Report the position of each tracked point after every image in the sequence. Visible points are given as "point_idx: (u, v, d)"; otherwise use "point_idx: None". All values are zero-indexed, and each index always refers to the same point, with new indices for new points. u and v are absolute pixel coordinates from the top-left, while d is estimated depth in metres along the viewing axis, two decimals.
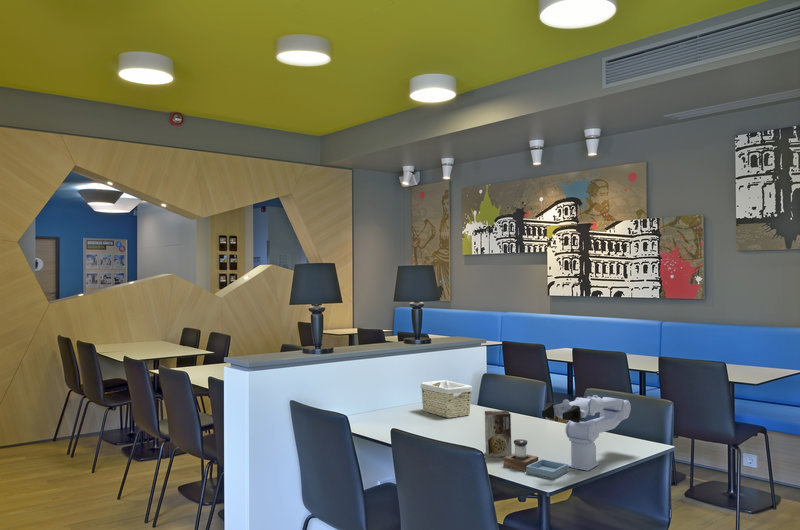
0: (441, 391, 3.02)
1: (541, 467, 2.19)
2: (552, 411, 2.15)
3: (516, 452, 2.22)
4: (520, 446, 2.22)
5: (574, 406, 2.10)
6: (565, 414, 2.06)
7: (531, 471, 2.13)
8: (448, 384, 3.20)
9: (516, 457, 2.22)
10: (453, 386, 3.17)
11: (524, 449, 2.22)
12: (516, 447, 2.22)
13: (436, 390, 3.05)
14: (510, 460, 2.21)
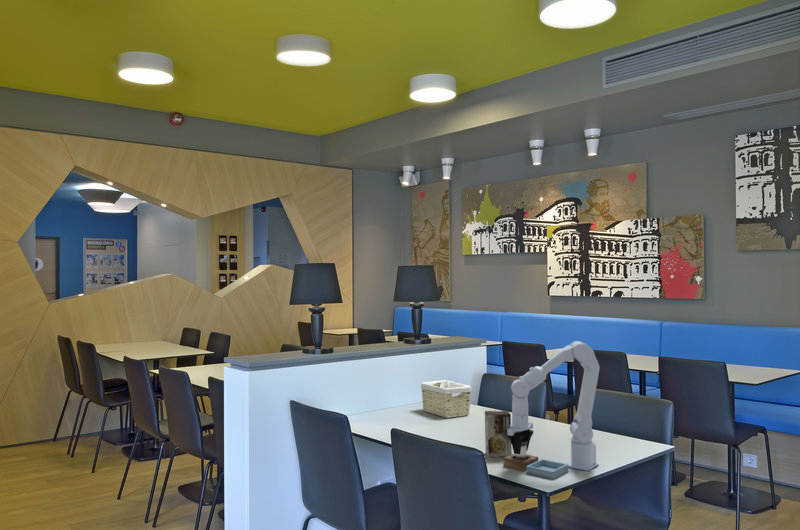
0: (440, 391, 3.02)
1: (541, 467, 2.19)
2: (524, 433, 2.25)
3: None
4: None
5: None
6: (514, 451, 2.22)
7: (531, 471, 2.13)
8: (448, 384, 3.20)
9: (516, 457, 2.22)
10: (453, 386, 3.17)
11: (524, 449, 2.22)
12: None
13: (435, 390, 3.05)
14: (510, 460, 2.21)
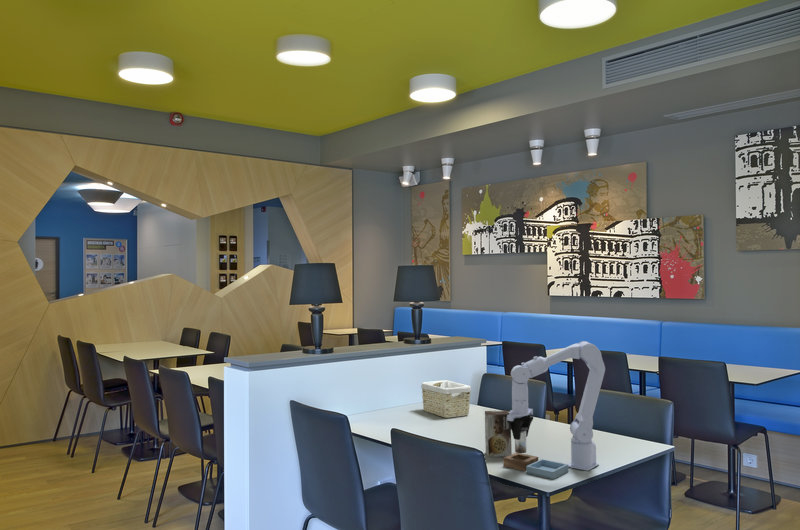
0: (439, 391, 3.02)
1: (541, 467, 2.19)
2: (523, 419, 2.26)
3: None
4: None
5: None
6: (514, 437, 2.22)
7: (531, 471, 2.13)
8: (449, 384, 3.20)
9: (516, 443, 2.23)
10: (453, 386, 3.17)
11: (524, 434, 2.22)
12: None
13: (435, 390, 3.06)
14: (510, 460, 2.21)
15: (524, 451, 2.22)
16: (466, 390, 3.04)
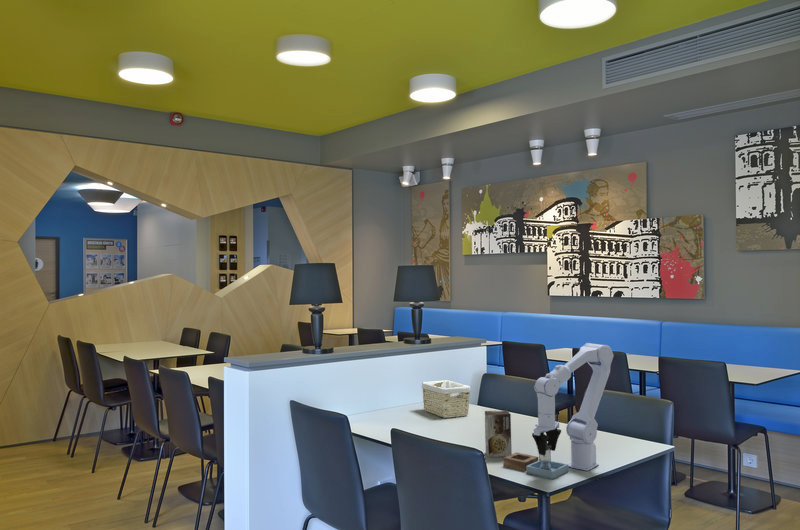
0: (438, 391, 3.02)
1: None
2: (551, 433, 2.18)
3: (540, 456, 2.15)
4: None
5: None
6: (539, 452, 2.13)
7: (531, 471, 2.13)
8: (450, 384, 3.20)
9: (540, 461, 2.15)
10: (454, 386, 3.17)
11: (548, 452, 2.14)
12: None
13: (434, 390, 3.06)
14: (510, 460, 2.21)
15: (549, 470, 2.14)
16: (465, 390, 3.03)
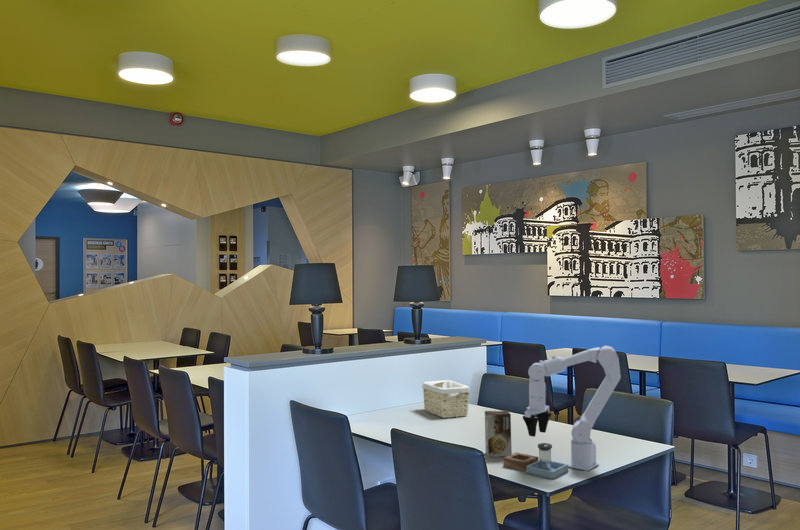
0: (437, 391, 3.02)
1: None
2: (542, 415, 2.30)
3: (540, 456, 2.15)
4: (545, 450, 2.14)
5: None
6: (529, 434, 2.24)
7: (531, 471, 2.13)
8: (450, 384, 3.20)
9: (540, 462, 2.15)
10: (454, 386, 3.16)
11: (548, 453, 2.14)
12: (540, 451, 2.15)
13: (433, 390, 3.06)
14: (510, 460, 2.21)
15: (549, 470, 2.14)
16: (464, 390, 3.03)
